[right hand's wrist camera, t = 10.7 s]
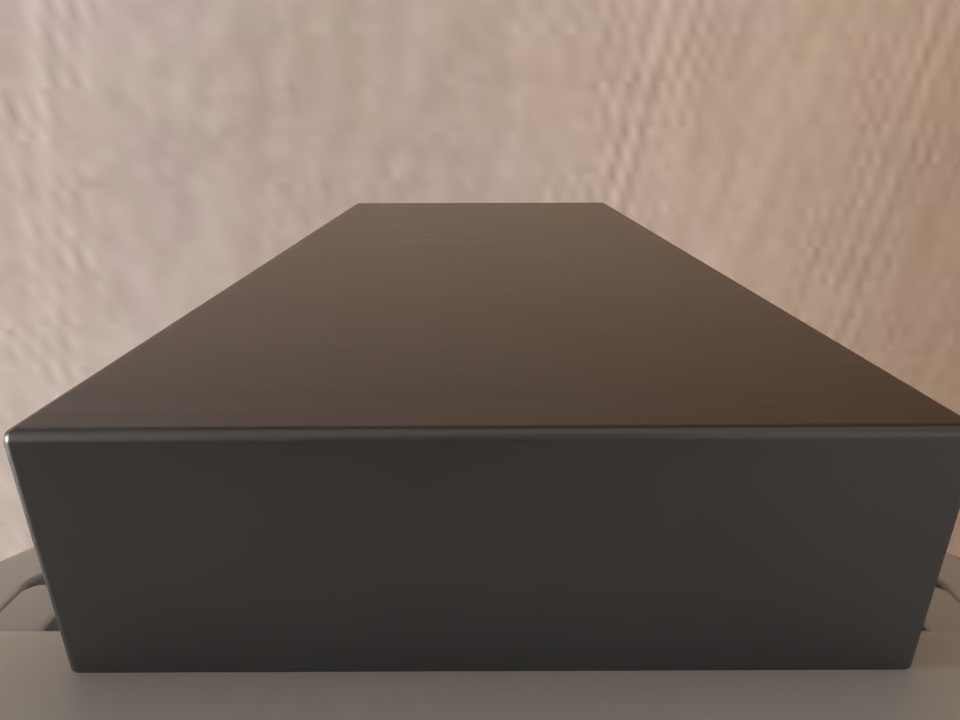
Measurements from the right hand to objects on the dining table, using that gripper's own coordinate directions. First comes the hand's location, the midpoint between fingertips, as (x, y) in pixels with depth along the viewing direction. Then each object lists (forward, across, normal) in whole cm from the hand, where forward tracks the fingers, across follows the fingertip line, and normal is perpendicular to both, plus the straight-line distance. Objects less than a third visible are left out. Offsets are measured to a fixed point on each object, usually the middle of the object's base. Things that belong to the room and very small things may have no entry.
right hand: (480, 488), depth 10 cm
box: (+7, 0, +9) cm, 12 cm away
